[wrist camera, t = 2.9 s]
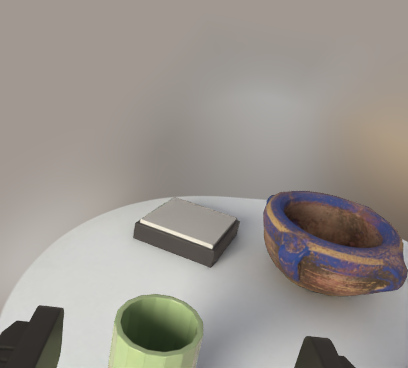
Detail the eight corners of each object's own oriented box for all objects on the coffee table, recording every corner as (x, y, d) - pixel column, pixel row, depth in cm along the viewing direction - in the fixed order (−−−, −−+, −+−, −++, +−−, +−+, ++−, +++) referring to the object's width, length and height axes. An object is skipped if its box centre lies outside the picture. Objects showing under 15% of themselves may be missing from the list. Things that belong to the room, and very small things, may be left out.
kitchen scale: (133, 237, 54) (135, 218, 53) (170, 211, 65) (173, 195, 64) (210, 267, 50) (215, 248, 49) (236, 234, 61) (240, 217, 60)
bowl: (248, 300, 45) (268, 225, 42) (252, 234, 62) (267, 177, 59) (401, 339, 44) (435, 265, 40) (363, 261, 61) (385, 204, 57)
